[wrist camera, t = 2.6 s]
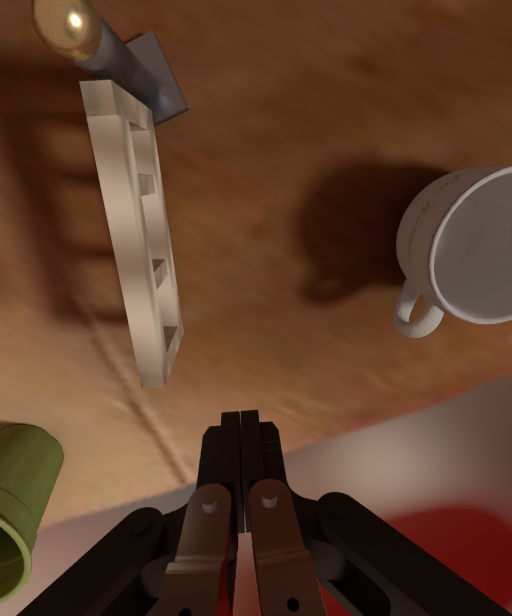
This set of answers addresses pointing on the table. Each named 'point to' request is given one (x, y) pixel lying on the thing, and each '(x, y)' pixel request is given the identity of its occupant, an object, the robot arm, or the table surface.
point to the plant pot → (23, 499)
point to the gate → (136, 224)
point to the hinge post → (109, 54)
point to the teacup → (457, 250)
